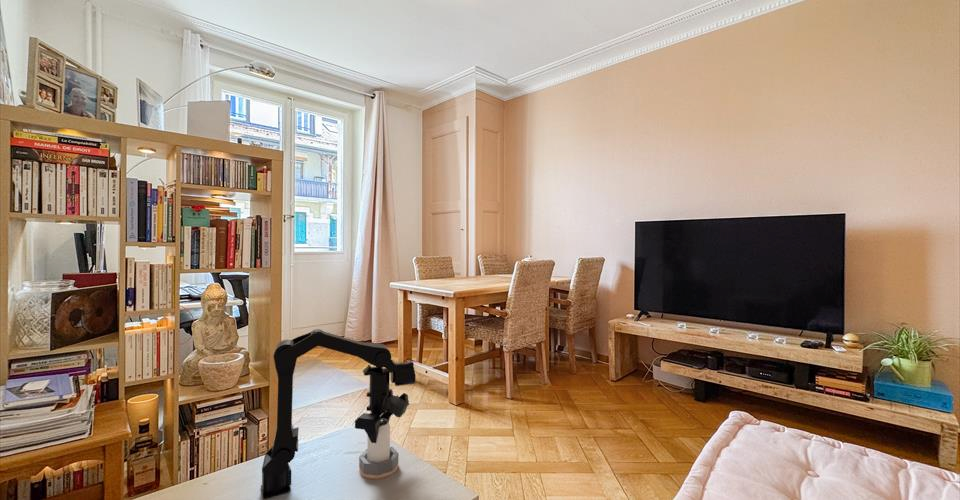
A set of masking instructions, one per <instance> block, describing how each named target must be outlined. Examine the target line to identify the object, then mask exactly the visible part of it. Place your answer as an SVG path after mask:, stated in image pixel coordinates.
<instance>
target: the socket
mask: <svg viewBox="0 0 960 500" xmlns="http://www.w3.org/2000/svg"><path fill="white" fill-rule="evenodd" d="M358 459H359V461H358V462H359V464H358V465H359V466H358V469H359V470H358V473H359V474H360V476H361V477H363V478H365V479H367V480H368V479H369V480H381V479H385V478H387V477H390V476H392V475H394V474H395V473H396V472H397V471H398V470H399V469H398V468H399V452H398V450H396V448H395V447H393V446H390V459H389V460H385V461H382V462H379V463H377V462H369V461H367V448H366V449H365V450H364V451H363V452H362V454H360V455H359V457H358Z"/></svg>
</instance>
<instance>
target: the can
mask: <svg viewBox="0 0 960 500" xmlns="http://www.w3.org/2000/svg"><path fill="white" fill-rule="evenodd" d="M388 422H390V420H389V421H388V419H386V418H381V423H383V424H382V425H381V426H380V427H379V431H378V436H377V441H376V443H371V441H370V439H369V437H368V436H367V439H366V440H367V445H366V446H367V448H366V449H367V461H369V462H377V463H379V462H382V461H385V460H389V459H390V447H391V425H390V423H388Z"/></svg>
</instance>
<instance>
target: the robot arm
mask: <svg viewBox="0 0 960 500" xmlns="http://www.w3.org/2000/svg"><path fill="white" fill-rule="evenodd" d="M317 347H320V348H323V349H324V348H325V349H329V350H332V351H336V352H339V353H342V354H347V355H350V356H353V357H357V358H359V359H361V360H363V361H365V362H366V363H367V364H368V365H367V366H366V367H365V368H364V369H363V370H362V373H363V376H369V390H368V392H367V393H366V397H368V398H369V399H368V400H369V402H368V403H369V404H368V406H366V411H367V412H370V413H366V412H363V413H362V414H361V415H360V416H358V417H357V418H356V419H355V420H354V428H355V429H357V430H364V432H365V433H366V435H367V438H368V437H369V439H370V441H371V443H376V441H377V436H378V431H379V427H380V426H381V425H382V424H383V423H381V418H386V419H388V421H389V422H390V420H391V417H392V416H393V415H394V416H395V417H396V418H402V416H403V415H404V414H405V413H406V412H407V408H408V406H409V405H410V401H409V396H408V395H409V394H407V393H405V392H403V393H402V394H400V396H399V395H394V394H393V393H394V391H393V389H392V388H390V382H391V384H394V386H395V387H401V386H409V385H415V383H416V380H417V379H416V377H417V375H416V371H415V367H414V362H413V361H412V360H408V361H405V362H396V361H395V360H394V359H393V358H392V354H391V351H390V350H389V349H388V347H387V346H386V345H385V344H383V343H378V342H362V341H357V340H354V339H351V338H348V337H344V336H341V335H337V334H334V333H330V332H327V331H324V330H322V329H319V328H316V329H313V330H312V331H310V332H308V333H305V334H302V335H300V336H297V337H295V338H292V339H284V340H281V341H280V342H278V343H277V345H276V346H275V350H274V353H273V361H274V366H275V371H276V375H277V406H276V407H277V411H276V414H277V416H276V430H275V435H274V440H273V445H272V446H271V447H270V448H269V449H268V450H267V451H266V452H265V453H264V458H263V461H262V462H263V463H262V467H261V485H260V489H261V494H262V499H265V500H266V499H268V498H273V497H276V496H279V495H282V494H285V493H289V492H291V487H290V486H291V485H292V468H291V466H290V465H289V463H291V462H292V461H293V459H294V458H295V456H296V452H297V453H298V452H299V431H300V430H299V428H300V427H298V426H297V427H295V428H294V426H293V399H294V398H293V393H294V392H293V391H294V372H295V369H296V364H297V359H298V358H300V357H302V356H304V355H305V354H306V353H309V352H310V351H311V350H313V349H315V348H317ZM371 365H372V366H371ZM389 422H388V423H389ZM389 424H390V423H389Z"/></svg>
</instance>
